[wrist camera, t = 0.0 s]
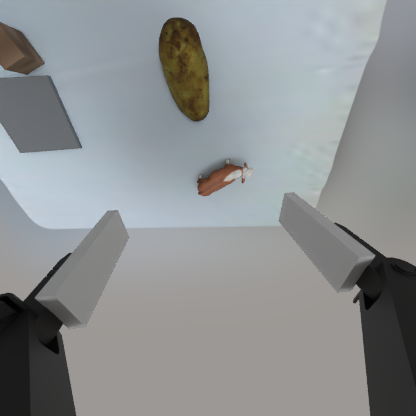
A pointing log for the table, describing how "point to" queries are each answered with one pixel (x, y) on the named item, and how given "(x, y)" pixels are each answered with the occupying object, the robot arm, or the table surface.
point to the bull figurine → (222, 178)
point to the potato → (185, 67)
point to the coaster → (35, 115)
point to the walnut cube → (17, 51)
